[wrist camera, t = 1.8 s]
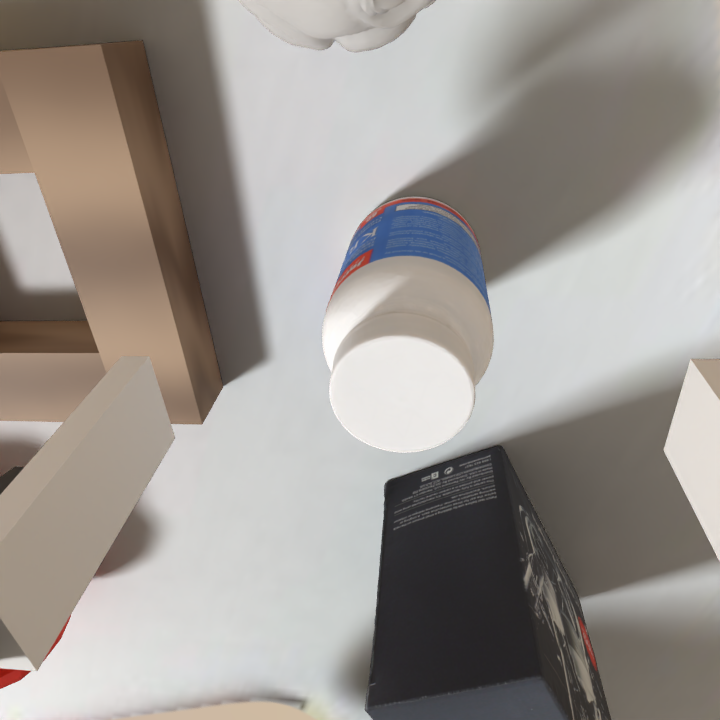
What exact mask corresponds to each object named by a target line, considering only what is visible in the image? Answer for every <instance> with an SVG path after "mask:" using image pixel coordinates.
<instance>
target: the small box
mask: <svg viewBox="0 0 720 720" xmlns="http://www.w3.org/2000/svg"><path fill="white" fill-rule="evenodd" d="M384 497H385V501H384V520H383V529H382V544H381V554H380V567H379V580H378V591H377V607H376V616H375V630H374V637H373V648H372V657H371V666H370V677H369V685H368V689H367V694H366V704H365V711H366V712H367V713H368V714H369V715H370V716H371V718H372V719H373V720H611V717H610V714H609V710H608V706H607V702H606V699H605V695H604V691H603V687H602V683H601V679H600V675H599V672H598V668H597V663H596V659H595V655H594V652H593V649H592V645H591V642H590V638H589V635H588V631H587V628H586V624H585V620H584V616H583V612H582V609H581V605H580V601H579V597H578V595H577V593H576V591H575V589H574V587H573V585H572V583H571V581H570V579H569V577H568V575H567V573H566V571H565V569H564V567H563V565H562V563H561V561H560V559H559V557H558V555H557V553H556V551H555V549H554V547H553V546H552V544H551V542H550V539H549V538H548V536H547V534H546V532H545V530H544V528H543V526H542V524H541V522H540V520H539V518H538V516H537V514H536V512H535V510H534V508H533V506H532V504H531V502H530V500H529V498H528V497H527V495H526V493H525V491H524V489H523V487H522V484H521V482H520V481H519V479H518V477H517V475H516V473H515V471H514V469H513V466H512V465H511V463H510V461H509V459H508V457H507V455H506V453H505V451H504V449H503V447H502V446H496V447H493V448H489V449H487V450H482V451H480V452H477V453H473V454H470V455H467V456H465V457H461V458H458V459H455V460H452V461H448V462H446V463H443V464H440V465H436V466H433V467H430V468H427V469H424V470H421V471H418V472H415V473H412V474H409V475H406V476H403V477H400V478H397V479H395V480H392V481H388V482H386V483H385V485H384Z"/></svg>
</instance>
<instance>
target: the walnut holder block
mask: <svg viewBox="0 0 720 720" xmlns="http://www.w3.org/2000/svg"><path fill="white" fill-rule="evenodd" d="M12 173H35V175H36V178H37V181H38V183H39V186H40V189H41V192H42V195H43V197H44V200H45V203H46V206H47V209H48V211H49V214H50V217H51V220H52V222H53V225H54V228H55V231H56V234H57V236H58V239H59V242H60V245H61V248H62V250H63V253H64V256H65V259H66V262H67V264H68V267H69V270H70V273H71V275H72V278H73V281H74V284H75V287H76V289H77V292H78V295H79V298H80V301H81V303H82V306H83V309H84V312H85V315H86V317H87V320H88V321H0V421H46V422H65V420H66V419H67V418H68V417H69V416H70V415H71V414H72V412H73V411H74V410H75V409H76V408H77V407H78V406H79V404H80V403H81V402H82V401H83V400H84V399H85V398H86V396H87V395H88V394H89V393H90V392H91V391H92V390H93V388H94V387H95V386H96V385H97V384H98V383H99V382H100V380H101V379H102V378H103V377H104V376H105V375H106V374H107V372H108V371H109V370H110V369H111V368H112V367H113V366H114V364H115V363H116V362H117V361H118V360H119V359H120V358H121V356H149V357H150V360H151V363H152V366H153V369H154V373H155V376H156V379H157V382H158V385H159V388H160V392H161V395H162V398H163V401H164V404H165V407H166V410H167V414H168V417H169V420H170V423H171V424H203V422H204V420H205V419H206V417H207V415H208V413H209V411H210V410H211V408H212V406H213V404H214V402H215V401H216V399H217V397H218V395H219V393H220V392H221V390H222V388H223V384H222V380H221V375H220V371H219V367H218V362H217V358H216V354H215V349H214V345H213V341H212V337H211V332H210V328H209V324H208V319H207V315H206V311H205V306H204V302H203V298H202V293H201V289H200V285H199V281H198V276H197V272H196V268H195V263H194V259H193V255H192V250H191V246H190V242H189V238H188V233H187V229H186V225H185V220H184V216H183V212H182V207H181V203H180V199H179V195H178V190H177V186H176V182H175V177H174V173H173V169H172V164H171V160H170V156H169V151H168V147H167V143H166V139H165V134H164V130H163V126H162V121H161V117H160V113H159V108H158V104H157V100H156V96H155V91H154V87H153V83H152V78H151V74H150V70H149V65H148V61H147V57H146V52H145V48H144V44H143V40H141V41H127V42H114V43H100V44H87V45H73V46H60V47H46V48H32V49H19V50H5V51H0V174H12Z"/></svg>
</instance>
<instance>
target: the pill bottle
mask: <svg viewBox="0 0 720 720" xmlns="http://www.w3.org/2000/svg"><path fill="white" fill-rule="evenodd" d="M493 342H494V335H493V324H492V317H491V312H490V306H489V300H488V295H487V289H486V283H485V277H484V271H483V265H482V258H481V252H480V248H479V244H478V241H477V238H476V236H475V233H474V232H473V230H472V228H471V227H470V225H469V224H468V222H467V221H466V220H465V219H464V218H463V216H462V215H461V214H459V213H458V212H457V211H456V210H454V209H453V208H452V207H450V206H448V205H447V204H445V203H443V202H440V201H438V200H435V199H431V198H427V197H416V196H415V197H404V198H399V199H395V200H392V201H389V202H387V203H385V204H383V205H381V206H379V207H378V208H376V209H375V210H374V211H372V212H371V213H370V214H369V215H368V216H367V217H366V218H365V219H364V220H363V221H362V223H361V224H360V225H359V227H358V228H357V230H356V232H355V234H354V235H353V238H352V240H351V242H350V245H349V248H348V251H347V254H346V257H345V260H344V262H343V265H342V268H341V271H340V274H339V277H338V279H337V282H336V285H335V288H334V290H333V293H332V295H331V298H330V301H329V303H328V306H327V309H326V314H325V317H324V322H323V328H322V345H323V351H324V355H325V359H326V361H327V364H328V366H329V368H330V370H331V372H332V373H331V377H330V383H329V396H330V402H331V406H332V408H333V411H334V413H335V415H336V417H337V418H338V420H339V421H340V423H341V424H342V425H343V427H344V428H345V429H346V430H347V431H348V432H349V433H351V434H352V435H353V436H354V437H356V438H357V439H359V440H360V441H362V442H364V443H366V444H368V445H370V446H373V447H375V448H378V449H382V450H385V451H392V452H400V453H409V452H419V451H424V450H428V449H431V448H434V447H437V446H439V445H441V444H443V443H445V442H447V441H448V440H450V439H451V438H453V437H454V436H455V435H456V434H457V433H459V432H460V430H461V429H462V428H463V427H464V426H465V424H466V423H467V421H468V420H469V418H470V416H471V414H472V411H473V407H474V403H475V386H476V385H477V384H478V382H479V381H480V380H481V378H482V377H483V375H484V373H485V371H486V369H487V367H488V365H489V362H490V359H491V356H492V351H493Z"/></svg>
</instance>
